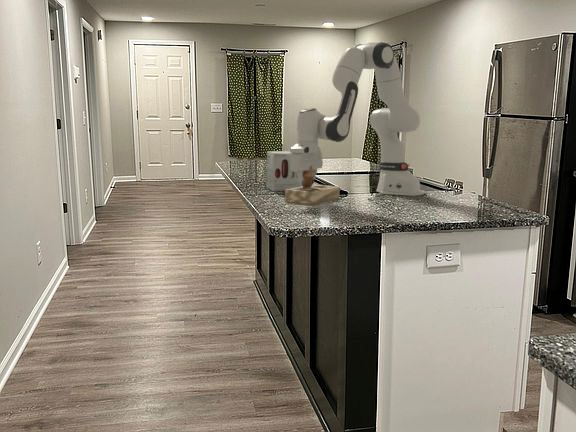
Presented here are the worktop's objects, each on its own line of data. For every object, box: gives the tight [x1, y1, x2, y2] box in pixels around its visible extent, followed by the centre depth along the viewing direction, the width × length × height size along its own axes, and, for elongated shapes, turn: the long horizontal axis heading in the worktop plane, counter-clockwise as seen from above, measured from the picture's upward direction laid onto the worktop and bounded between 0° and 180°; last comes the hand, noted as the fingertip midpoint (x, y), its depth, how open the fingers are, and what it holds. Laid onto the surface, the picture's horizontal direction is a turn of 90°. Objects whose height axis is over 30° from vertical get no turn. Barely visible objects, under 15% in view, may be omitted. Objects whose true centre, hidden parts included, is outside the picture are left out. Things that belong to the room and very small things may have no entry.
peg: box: [302, 166, 312, 190], centre depth 248 cm, size 4×4×14 cm
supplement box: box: [266, 150, 302, 192], centre depth 283 cm, size 17×13×18 cm
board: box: [284, 183, 341, 205], centre depth 253 cm, size 14×22×5 cm, turn 146°
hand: (307, 180), depth 248 cm, fingers open, 8 cm apart
